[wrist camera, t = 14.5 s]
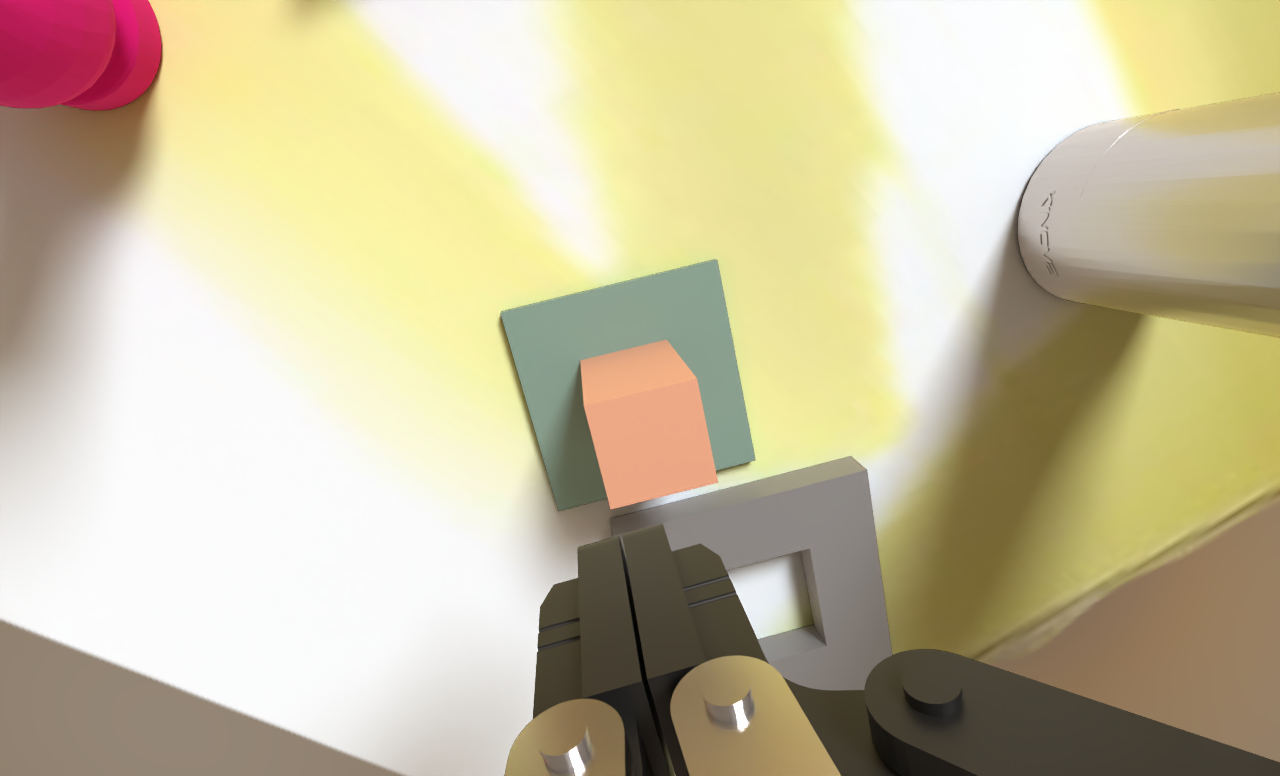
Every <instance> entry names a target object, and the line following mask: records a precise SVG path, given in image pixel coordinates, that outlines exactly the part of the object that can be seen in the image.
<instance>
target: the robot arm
mask: <svg viewBox="0 0 1280 776" xmlns="http://www.w3.org/2000/svg"><path fill="white" fill-rule="evenodd" d="M1018 240H1019V247H1020V253H1021V256H1022V258H1023V261H1024V263H1025V266H1026V268H1027V270H1028V271H1029V273H1030V274H1031V276H1032V277H1033V278H1034V280H1035V281H1036V282H1037V283H1038V284H1039V285H1040V286H1041V287H1042V288H1044V289H1045V290H1046V291H1047V292H1048V293H1051V294H1053V295H1055V296H1057V297H1059V298H1061V299H1064V300H1069V301H1075V302H1080V303H1085V304H1091V305H1096V306H1102V307H1108V308H1113V309H1119V310H1124V311H1129V312H1134V313H1139V314H1145V315H1151V316H1157V317H1162V318H1168V319H1174V320H1179V321H1185V322H1191V323H1197V324H1202V325H1208V326H1214V327H1220V328H1225V329H1231V330H1237V331H1243V332H1248V333H1254V334H1260V335H1266V336H1271V337H1277V338H1280V92H1279V93H1273V94H1267V95H1261V96H1255V97H1249V98H1243V99H1238V100H1232V101H1226V102H1220V103H1214V104H1208V105H1202V106H1197V107H1191V108H1185V109H1177V110H1171V111H1165V112H1160V113H1154V114H1148V115H1142V116H1136V117H1131V118H1125V119H1119V120H1113V121H1108V122H1103V123H1099V124H1094V125H1090V126H1088V127H1086V128H1084V129H1082V130H1080V131H1077V132H1075V133H1073V134H1072V135H1070V136H1069V137H1068V138H1066V139H1065V140H1064V141H1062V142H1061V143H1059V144H1058V145H1057V146H1056V147H1055V148H1054V149H1053V150H1052V151H1051V152H1050V153H1049V154H1048V155H1047V156H1046V157H1045V159H1044V160H1043V161H1042V162H1041V164H1040V165H1039V167H1038V168H1037V170H1036V171H1035V173H1034V174H1033V176H1032V177H1031V180H1030V182H1029V184H1028V186H1027V189H1026V191H1025V193H1024V196H1023V199H1022V203H1021V208H1020V212H1019V216H1018ZM622 537H623V543H624V549H625V553H624V549H623V546H622V543H621V540H620V537H619V536H617V537H613V538H609V539H606V540H602V541H599V542H595V543H591V544H588V545H584V546H581V547H578V578H576V579H573V580H569V581H565V582H562V583H558V584H555V585H553V587H552V588H551V590H550V592H549V593H548V595H547V597H546V598H545V600H544V602H543V603H542V605H541V606H540V618H539V632H540V633H539V634H538V652H537V664H536V679H535V694H534V709H533V720H532V721H531V722H530V723H529V724H527V725H526V727H525V728H524V729H523V730H522V731H521V732H520V734H519V735H518V737H517V738H516V740H515V741H514V743H513V745H512V748H511V750H510V753H509V756H508V760H507V765H506V770H505V776H675V775H676V776H1280V762H1277V761H1274V760H1270V759H1268V758H1265V757H1262V756H1259V755H1256V754H1253V753H1250V752H1247V751H1244V750H1241V749H1238V748H1235V747H1232V746H1229V745H1226V744H1223V743H1220V742H1217V741H1214V740H1211V739H1208V738H1205V737H1202V736H1199V735H1196V734H1193V733H1190V732H1187V731H1184V730H1181V729H1178V728H1175V727H1172V726H1169V725H1166V724H1163V723H1161V722H1158V721H1155V720H1152V719H1149V718H1146V717H1143V716H1140V715H1137V714H1134V713H1131V712H1128V711H1125V710H1122V709H1119V708H1116V707H1113V706H1110V705H1107V704H1104V703H1101V702H1097V701H1095V700H1092V699H1089V698H1086V697H1082V696H1080V695H1077V694H1074V693H1071V692H1068V691H1065V690H1062V689H1059V688H1056V687H1053V686H1050V685H1047V684H1044V683H1041V682H1038V681H1035V680H1032V679H1029V678H1026V677H1023V676H1020V675H1017V674H1014V673H1011V672H1008V671H1005V670H1002V669H999V668H996V667H993V666H990V665H987V664H984V663H981V662H978V661H975V660H973V659H970V658H967V657H964V656H961V655H958V654H954V653H950V652H947V651H941V650H933V649H917V650H909V651H904V652H900V653H897V654H894V655H892V656H890V657H888V658H886V659H884V660H883V661H881V662H880V663H879V664H877V665H876V666H875V667H874V668H873V670H872V671H871V672H870V674H869V676H868V677H867V680H866V683H865V689H864V690H819V689H813V688H808V687H805V686H801V685H798V684H796V683H794V682H791V681H789V680H788V679H786V678H784V677H783V676H782V675H781V674H780V673H779V672H778V671H777V670H776V669H775V668H774V667H773V666H771V665H770V664H769V663H768V661H767V659H766V657H765V655H764V653H763V651H762V649H761V646H760V644H759V642H758V640H757V637H756V635H755V633H754V631H753V629H752V626H751V624H750V622H749V620H748V617H747V615H746V613H745V611H744V609H743V606H742V604H741V602H740V600H739V598H738V595H737V594H736V591H735V589H734V586H733V584H732V582H731V580H730V579H729V576H728V573H727V571H726V569H725V566H724V564H723V562H722V560H721V558H720V556H719V555H717V554H716V553H714V552H713V551H711V550H710V549H708V548H707V547H705V546H704V545H702V544H701V543H700V544H697V545H693V546H690V547H686V548H682V549H679V550H675V551H671V548H670V545H669V542H668V539H667V535H666V532H665V529H664V526H663V524H659V525H656V526H652V527H648V528H645V529H641V530H638V531H634V532H630V533H627V534H623V535H622ZM625 554H626V556H625Z"/></svg>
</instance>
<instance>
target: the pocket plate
mask: <svg viewBox="0 0 1280 776" xmlns="http://www.w3.org/2000/svg"><path fill="white" fill-rule="evenodd" d="M659 524H663V526H664V529H665V532H666V535H667V539H668V542H669V545H670V548H671V551H675V550H679V549H682V548H686V547H690V546H693V545H697V544H700V543H701V544H702V545H704V546H705V547H707V548H708V549H710V550H711V551H713V552H714V553H716V554H717V555H719V556H720V558H721V560H722V562H723V564H724V566H725V569H726V571H727V570H730V569H734V568H738V567H742V566H746V565H749V564H753V563H757V562H761V561H764V560H768V559H772V558H776V557H779V556H783V555H787V554H791V553H794V552H798V551H801V554H802V560H803V565H804V571H805V577H806V582H807V588H808V594H809V599H810V605H811V611H812V616H813V622H814V624H813V625H810V626H806V627H802V628H799V629H795V630H791V631H787V632H784V633H780V634H776V635H773V636H769V637H765V638H762V639H758V642H759V644H760V646H761V649H762V651H763V653H764V655H765V657H766V659H767V661H768V663H769V664H770V665H771V666H773V667H774V668H775V669H776V670H777V671H778V672H779V673H780V674H781V675H782V676H783V677H784V678H786V679H788V680H789V681H791V682H794V683H796V684H798V685H801V686H805V687H808V688H813V689H819V690H864V689H865V683H866V680H867V677H868V676H869V674H870V672H871V671H872V670H873V668H874V667H875V666H876V665H877V664H879V663H880V662H881V661H883V660H884V659H886V658H888V657H890V656H892V649H891V641H890V634H889V627H888V620H887V612H886V605H885V598H884V590H883V583H882V576H881V568H880V561H879V554H878V547H877V539H876V532H875V525H874V517H873V510H872V503H871V495H870V488H869V481H868V473H867V469H866V468H864V467H863V466H862V465H861V464H860V463H859V462H857V461H856V460H855V459H854V458H853V457H852V456H849V457H846V458H842V459H838V460H834V461H830V462H826V463H823V464H819V465H815V466H811V467H807V468H803V469H799V470H796V471H792V472H788V473H784V474H780V475H776V476H773V477H769V478H765V479H761V480H757V481H753V482H749V483H746V484H742V485H738V486H734V487H730V488H726V489H722V490H719V491H715V492H711V493H707V494H703V495H699V496H696V497H692V498H688V499H684V500H680V501H676V502H672V503H669V504H665V505H661V506H657V507H653V508H649V509H646V510H642V511H638V512H634V513H630V514H626V515H622V516H619V517H615V518H611V519H610V525H611V532H612V538H613V537H617V536H619V537H620V540H621V543H622V546H623V549H624V543H623V537H622V535H623V534H627V533H630V532H634V531H638V530H641V529H645V528H648V527H652V526H656V525H659ZM624 553H625V549H624ZM625 556H626V554H625Z"/></svg>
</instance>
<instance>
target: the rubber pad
mask: <svg viewBox="0 0 1280 776" xmlns="http://www.w3.org/2000/svg"><path fill="white" fill-rule="evenodd" d="M500 314H501V317H502V321H503V324H504V327H505V331H506V334H507V338H508V341H509V344H510V348H511V351H512V355H513V358H514V361H515V365H516V368H517V372H518V375H519V378H520V382H521V385H522V389H523V392H524V395H525V399H526V402H527V406H528V409H529V412H530V416H531V419H532V423H533V426H534V429H535V433H536V436H537V440H538V443H539V446H540V450H541V453H542V457H543V460H544V463H545V467H546V470H547V474H548V477H549V480H550V484H551V487H552V491H553V494H554V497H555V501H556V504H557V508H558V511H561V510H565V509H569V508H573V507H577V506H581V505H585V504H588V503H592V502H596V501H600V500H604V499H608V497H607V494H606V490H605V486H604V482H603V478H602V474H601V470H600V467H599V463H598V459H597V455H596V451H595V447H594V443H593V439H592V436H591V432H590V428H589V424H588V420H587V416H586V412H585V409H584V401H583V389H582V376H581V364H580V360H584V359H588V358H592V357H596V356H600V355H605V354H609V353H613V352H617V351H621V350H625V349H629V348H634V347H638V346H642V345H646V344H650V343H654V342H658V341H663V340H667V341H668V342H669V343H670V345H671V346H672V347H673V348H674V350H675V351H676V352H677V353H678V355H679V356H680V357H681V359H682V360H683V361H684V362H685V364H686V365H687V366H688V368H689V369H690V370H691V371H692V373H693V374H694V375H695V377H696V378H697V381H698V385H699V390H700V395H701V400H702V405H703V410H704V415H705V420H706V425H707V430H708V435H709V440H710V445H711V450H712V455H713V459H714V464H715V469H716V470H720V469H724V468H728V467H732V466H735V465H739V464H743V463H747V462H751V461H755V455H754V449H753V444H752V439H751V434H750V428H749V423H748V418H747V413H746V407H745V402H744V397H743V392H742V386H741V381H740V376H739V371H738V365H737V360H736V355H735V350H734V344H733V339H732V334H731V329H730V323H729V318H728V313H727V308H726V302H725V297H724V292H723V287H722V281H721V276H720V271H719V266H718V260H716V259H714V260H710V261H706V262H702V263H697V264H693V265H689V266H685V267H681V268H677V269H673V270H669V271H665V272H661V273H656V274H652V275H648V276H644V277H640V278H636V279H632V280H628V281H624V282H620V283H615V284H611V285H607V286H603V287H599V288H595V289H591V290H587V291H583V292H579V293H574V294H570V295H566V296H562V297H558V298H554V299H550V300H546V301H542V302H538V303H534V304H529V305H525V306H521V307H517V308H513V309H509V310H505V311H501V313H500Z"/></svg>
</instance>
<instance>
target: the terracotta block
mask: <svg viewBox="0 0 1280 776" xmlns="http://www.w3.org/2000/svg"><path fill="white" fill-rule="evenodd" d="M580 364H581V376H582V389H583V401H584V409H585V412H586V416H587V420H588V424H589V428H590V432H591V436H592V439H593V443H594V447H595V451H596V455H597V459H598V463H599V467H600V470H601V474H602V478H603V482H604V486H605V490H606V494H607V497H608V501H609V505H610V509H615V508H619V507H623V506H627V505H631V504H635V503H639V502H643V501H647V500H651V499H655V498H658V497H662V496H666V495H670V494H674V493H678V492H682V491H686V490H690V489H694V488H698V487H702V486H706V485H710V484H714V483H718V479H717V474H716V469H715V464H714V459H713V455H712V450H711V445H710V440H709V435H708V430H707V425H706V420H705V415H704V410H703V405H702V400H701V395H700V390H699V385H698V381H697V378H696V377H695V375H694V374H693V373H692V371H691V370H690V369H689V368H688V366H687V365H686V364H685V362H684V361H683V360H682V359H681V357H680V356H679V355H678V353H677V352H676V351H675V350H674V348H673V347H672V346H671V345H670V343H669V342H668V341H667V340H663V341H658V342H654V343H650V344H646V345H642V346H638V347H634V348H629V349H625V350H621V351H617V352H613V353H609V354H605V355H600V356H596V357H592V358H588V359H584V360H580Z"/></svg>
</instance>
